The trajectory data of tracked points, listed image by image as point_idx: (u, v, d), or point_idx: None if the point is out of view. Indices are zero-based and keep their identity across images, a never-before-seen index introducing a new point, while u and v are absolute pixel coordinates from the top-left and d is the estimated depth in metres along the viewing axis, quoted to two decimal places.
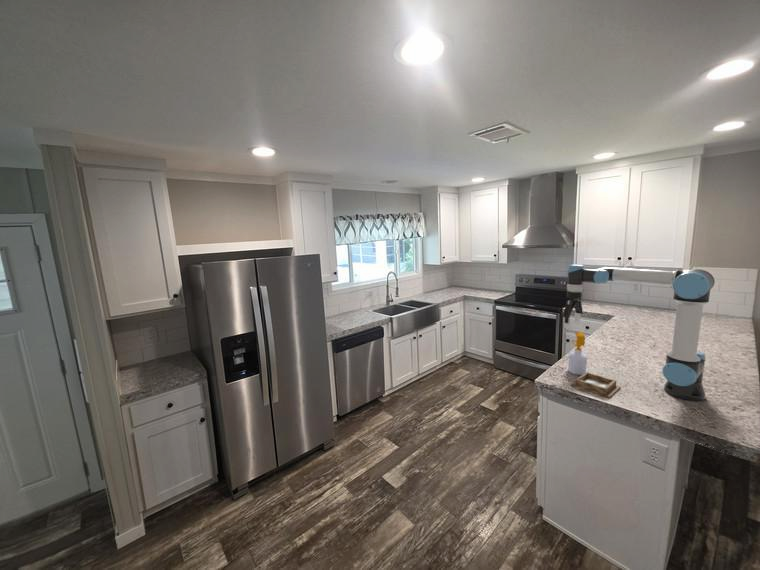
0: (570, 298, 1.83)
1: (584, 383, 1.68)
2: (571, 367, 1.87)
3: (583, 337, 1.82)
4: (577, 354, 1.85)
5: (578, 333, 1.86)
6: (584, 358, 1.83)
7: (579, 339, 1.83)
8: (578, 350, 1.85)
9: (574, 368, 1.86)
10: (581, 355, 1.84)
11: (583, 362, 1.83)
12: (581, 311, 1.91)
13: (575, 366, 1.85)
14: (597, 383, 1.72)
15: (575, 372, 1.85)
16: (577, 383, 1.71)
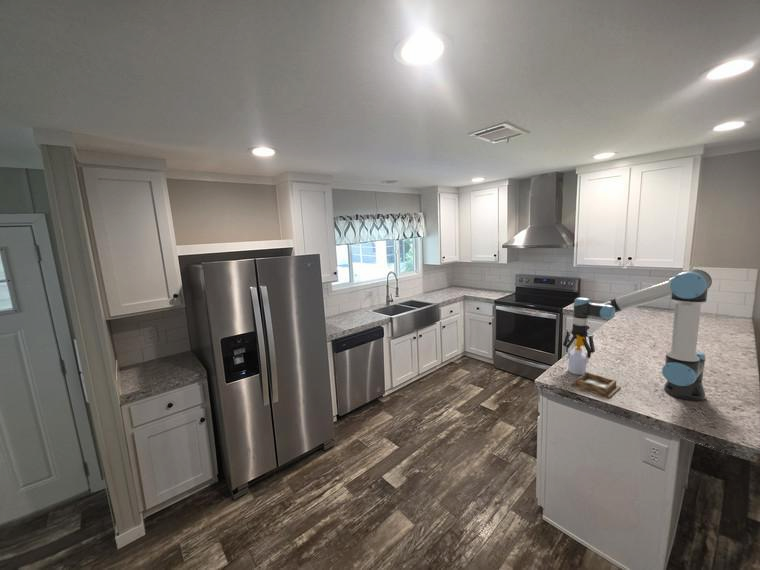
0: None
1: (584, 383, 1.68)
2: (571, 367, 1.87)
3: (583, 337, 1.82)
4: (577, 354, 1.85)
5: None
6: (584, 358, 1.83)
7: (579, 339, 1.83)
8: (578, 350, 1.85)
9: (574, 368, 1.86)
10: (581, 355, 1.84)
11: (583, 362, 1.83)
12: (591, 352, 1.80)
13: (575, 366, 1.85)
14: (597, 383, 1.72)
15: (575, 372, 1.85)
16: (577, 383, 1.71)
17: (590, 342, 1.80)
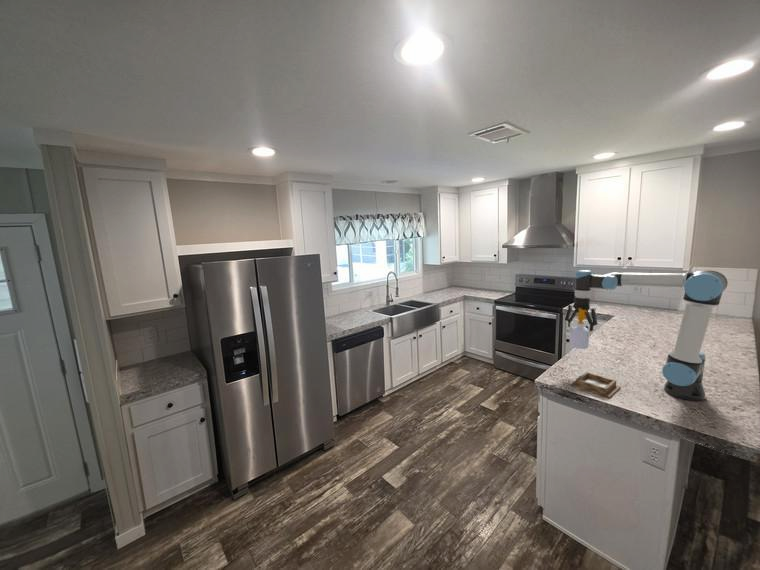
0: None
1: (584, 383, 1.68)
2: (573, 341, 1.84)
3: (585, 310, 1.80)
4: (579, 328, 1.82)
5: None
6: (586, 331, 1.80)
7: (581, 312, 1.80)
8: (580, 324, 1.83)
9: (576, 342, 1.83)
10: (583, 329, 1.81)
11: (585, 335, 1.80)
12: (593, 324, 1.77)
13: (577, 340, 1.82)
14: (597, 383, 1.72)
15: (577, 346, 1.83)
16: (577, 383, 1.71)
17: (592, 315, 1.77)
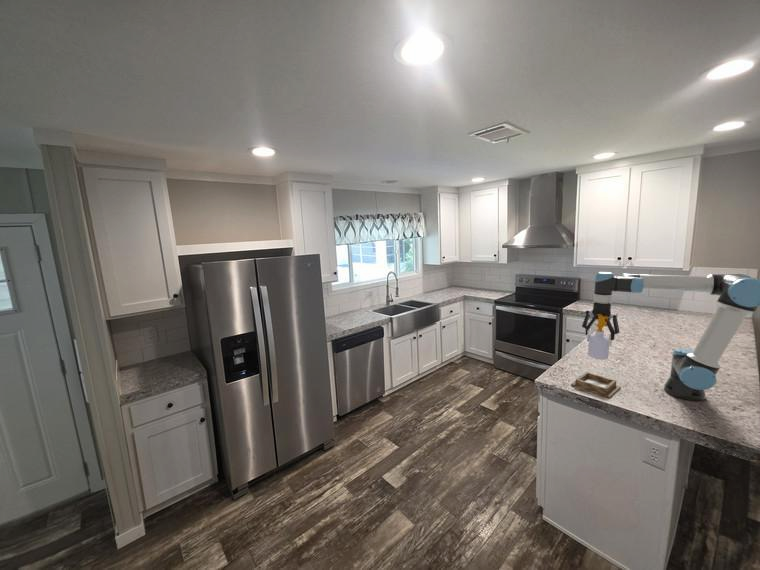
0: None
1: (584, 383, 1.68)
2: (592, 351, 1.66)
3: (606, 316, 1.61)
4: (599, 336, 1.64)
5: None
6: (607, 340, 1.62)
7: (601, 319, 1.62)
8: (600, 331, 1.64)
9: (595, 352, 1.65)
10: (603, 337, 1.63)
11: (606, 345, 1.62)
12: (615, 333, 1.59)
13: (596, 349, 1.64)
14: (597, 383, 1.72)
15: (596, 356, 1.64)
16: (577, 383, 1.71)
17: (614, 322, 1.59)
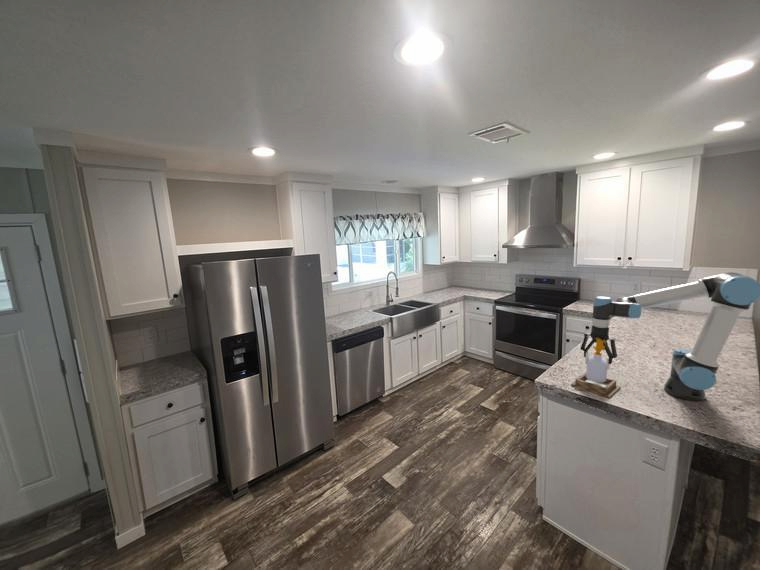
0: None
1: (584, 383, 1.68)
2: (590, 374, 1.68)
3: (604, 340, 1.64)
4: (597, 359, 1.66)
5: None
6: (605, 364, 1.64)
7: (599, 343, 1.64)
8: (598, 355, 1.66)
9: (593, 375, 1.67)
10: (601, 360, 1.65)
11: (603, 368, 1.64)
12: (613, 357, 1.61)
13: (594, 373, 1.66)
14: (597, 383, 1.72)
15: (594, 379, 1.67)
16: (577, 383, 1.71)
17: (612, 346, 1.61)
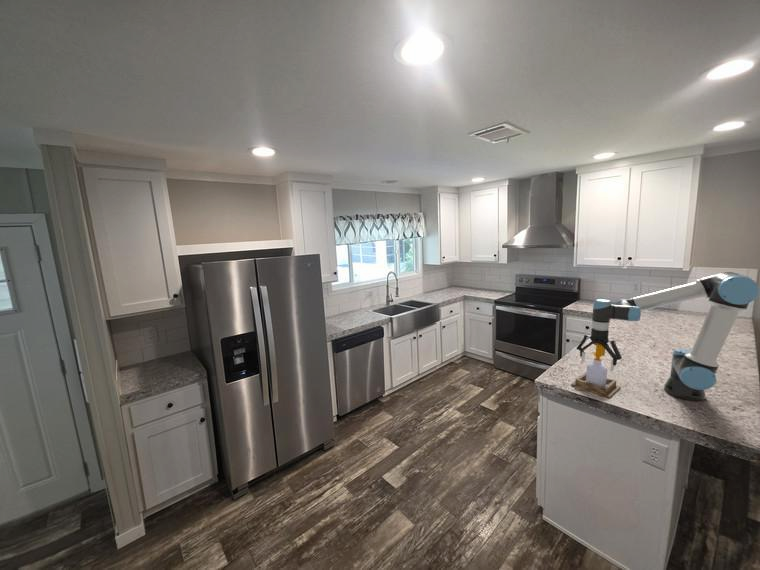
0: None
1: (584, 383, 1.68)
2: (589, 379, 1.69)
3: None
4: (596, 365, 1.67)
5: None
6: (604, 370, 1.65)
7: (599, 348, 1.65)
8: (597, 361, 1.67)
9: (593, 380, 1.67)
10: (601, 366, 1.66)
11: (603, 374, 1.65)
12: (617, 359, 1.60)
13: (594, 378, 1.67)
14: None
15: None
16: (577, 383, 1.71)
17: (614, 348, 1.61)
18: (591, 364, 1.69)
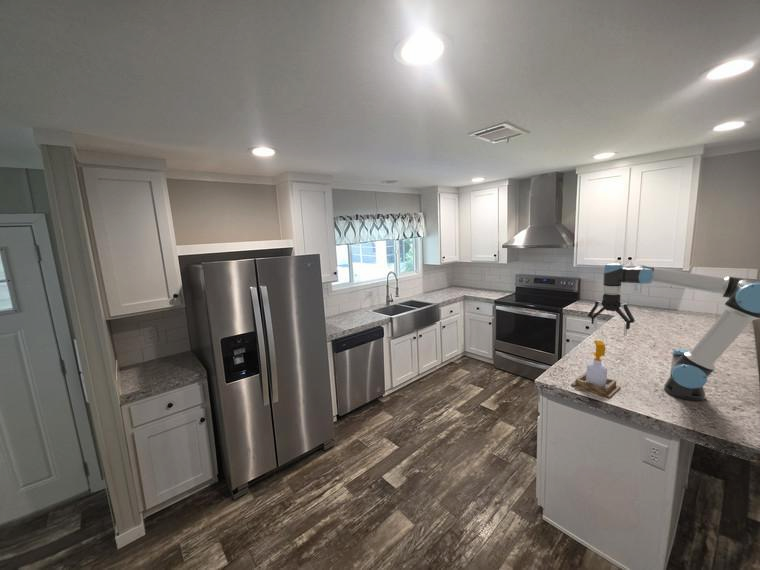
0: None
1: (584, 383, 1.68)
2: (589, 379, 1.69)
3: (603, 346, 1.64)
4: (596, 365, 1.67)
5: (597, 341, 1.67)
6: (604, 370, 1.65)
7: (599, 348, 1.65)
8: (597, 361, 1.67)
9: (593, 380, 1.67)
10: (601, 366, 1.66)
11: (603, 374, 1.65)
12: (631, 322, 1.59)
13: (594, 378, 1.67)
14: None
15: None
16: (577, 383, 1.71)
17: (626, 311, 1.59)
18: (591, 364, 1.69)
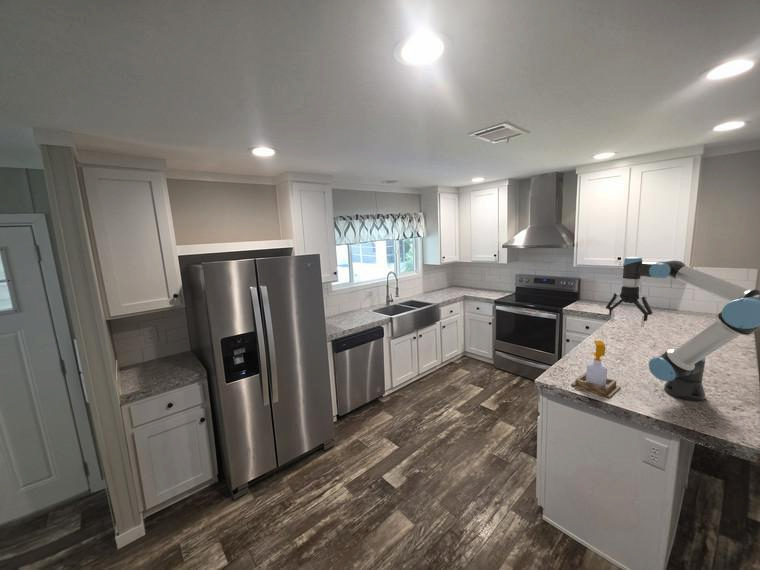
0: None
1: (584, 383, 1.68)
2: (589, 379, 1.69)
3: (603, 346, 1.64)
4: (596, 365, 1.67)
5: (597, 341, 1.67)
6: (604, 370, 1.65)
7: (599, 348, 1.65)
8: (597, 361, 1.67)
9: (593, 380, 1.67)
10: (601, 366, 1.66)
11: (603, 374, 1.65)
12: (648, 314, 1.63)
13: (594, 378, 1.67)
14: None
15: None
16: (577, 383, 1.71)
17: (644, 303, 1.64)
18: (591, 364, 1.69)
